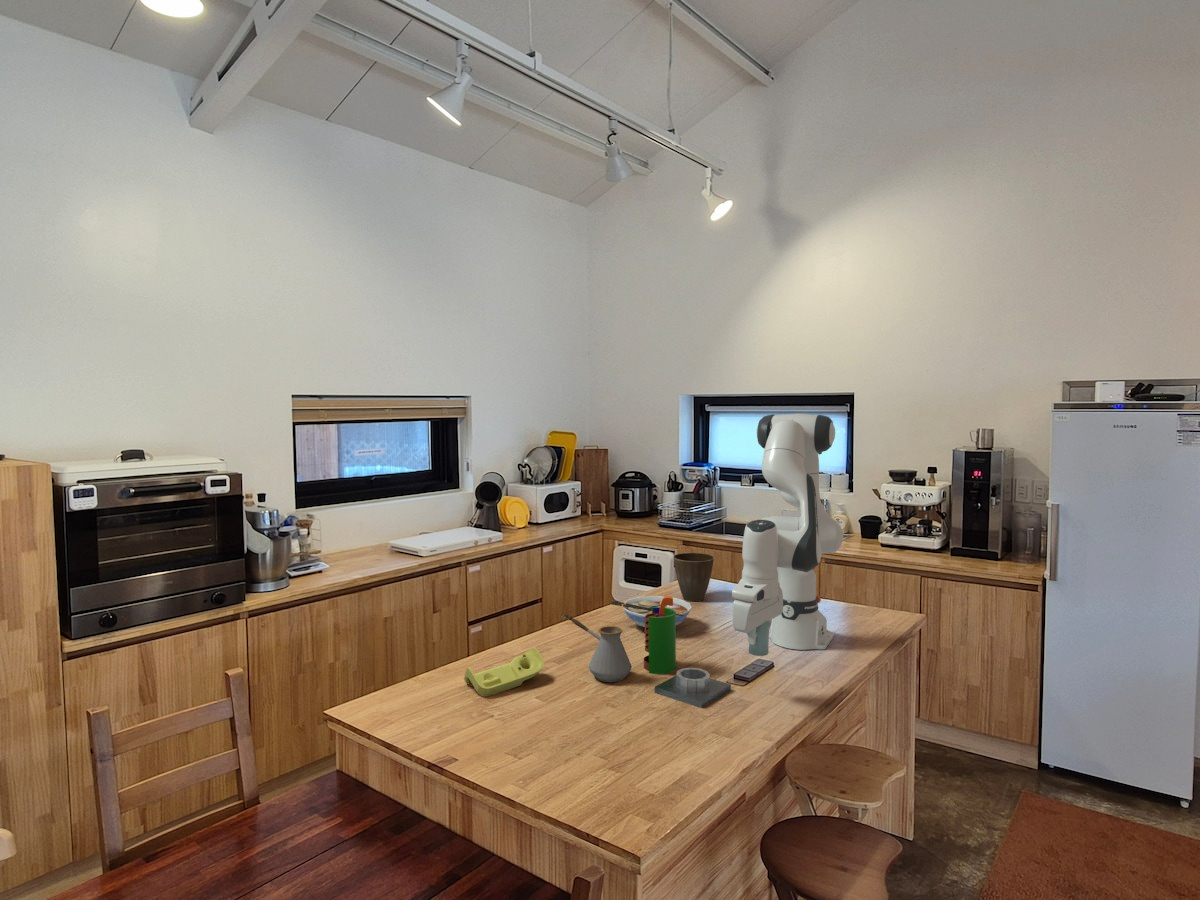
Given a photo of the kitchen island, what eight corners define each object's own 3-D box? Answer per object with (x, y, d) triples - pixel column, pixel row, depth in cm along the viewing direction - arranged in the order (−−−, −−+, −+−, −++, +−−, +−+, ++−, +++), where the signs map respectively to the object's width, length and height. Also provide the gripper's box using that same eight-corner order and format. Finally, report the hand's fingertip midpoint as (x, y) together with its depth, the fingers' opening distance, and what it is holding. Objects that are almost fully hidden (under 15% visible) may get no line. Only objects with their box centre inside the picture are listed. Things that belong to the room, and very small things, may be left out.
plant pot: (671, 603, 261) (672, 560, 260) (674, 592, 276) (674, 551, 275) (712, 605, 259) (713, 562, 258) (713, 594, 273) (714, 553, 272)
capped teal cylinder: (754, 647, 183) (755, 611, 182) (771, 651, 180) (772, 615, 179) (745, 652, 179) (745, 615, 178) (762, 657, 176) (763, 619, 175)
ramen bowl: (706, 624, 237) (706, 600, 236) (675, 644, 218) (675, 618, 217) (640, 612, 250) (640, 589, 250) (605, 629, 231) (605, 605, 230)
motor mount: (684, 676, 193) (685, 660, 192) (730, 690, 184) (731, 673, 183) (654, 692, 182) (654, 675, 182) (701, 707, 173) (701, 689, 173)
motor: (641, 660, 204) (641, 592, 202) (672, 660, 204) (672, 591, 203) (646, 674, 194) (647, 602, 192) (679, 673, 194) (679, 601, 193)
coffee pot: (639, 674, 194) (639, 620, 193) (617, 688, 184) (618, 631, 183) (573, 658, 205) (573, 607, 204) (550, 671, 195) (550, 618, 194)
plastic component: (482, 691, 177) (465, 663, 184) (478, 711, 180) (462, 683, 187) (550, 668, 188) (532, 642, 195) (546, 688, 192) (528, 662, 198)
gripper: (767, 575, 188) (766, 626, 189) (728, 592, 172) (727, 648, 174) (790, 579, 184) (788, 631, 185) (751, 597, 168) (750, 654, 170)
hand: (758, 640), depth 179 cm, fingers closed on capped teal cylinder, 5 cm apart
